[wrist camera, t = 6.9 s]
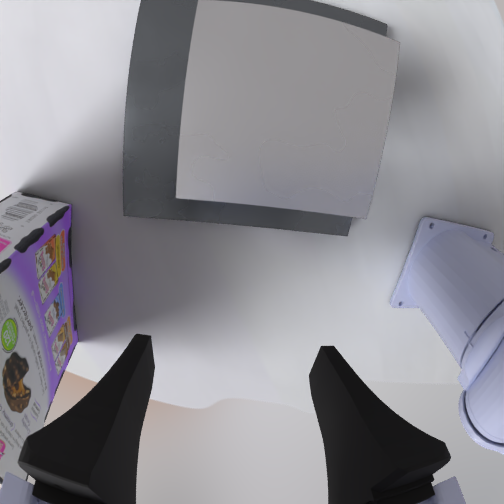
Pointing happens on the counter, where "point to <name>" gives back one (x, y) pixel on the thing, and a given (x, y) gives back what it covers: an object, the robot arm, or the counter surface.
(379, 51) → the column
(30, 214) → the candy box
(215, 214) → the stand
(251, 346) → the counter surface
